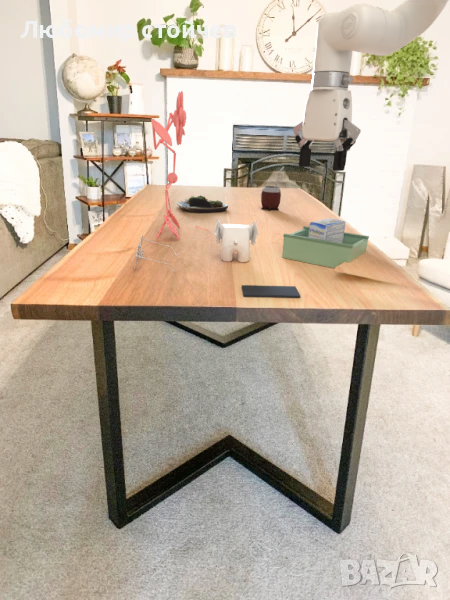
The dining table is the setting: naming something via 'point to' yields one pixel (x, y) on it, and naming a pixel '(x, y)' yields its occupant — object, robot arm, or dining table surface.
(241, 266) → the dining table surface
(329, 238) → the medicine box
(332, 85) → the robot arm
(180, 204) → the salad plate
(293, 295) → the mat
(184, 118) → the figurine
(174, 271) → the sunglasses
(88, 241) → the dining table surface
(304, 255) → the basket
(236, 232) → the elephant figurine
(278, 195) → the mate gourd
